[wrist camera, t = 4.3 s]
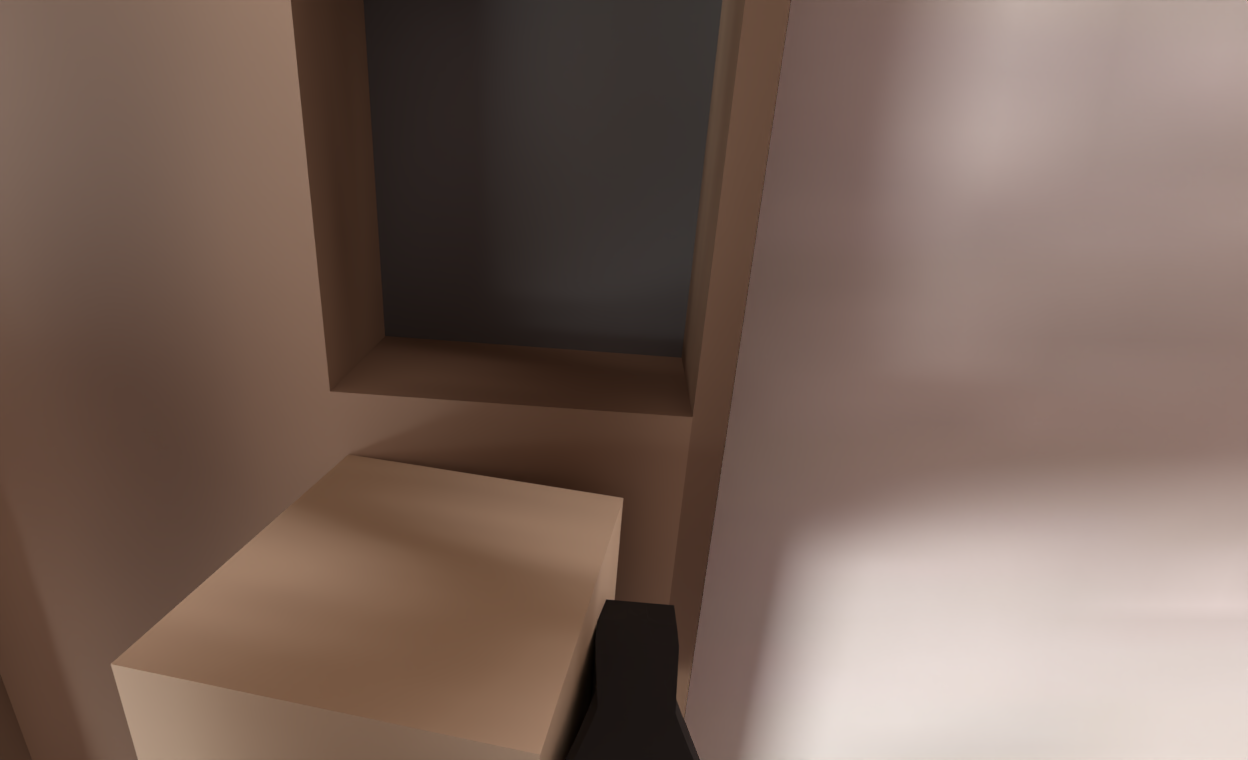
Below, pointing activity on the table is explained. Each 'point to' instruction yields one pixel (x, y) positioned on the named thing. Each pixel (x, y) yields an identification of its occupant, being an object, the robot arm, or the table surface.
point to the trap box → (353, 288)
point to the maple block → (386, 626)
